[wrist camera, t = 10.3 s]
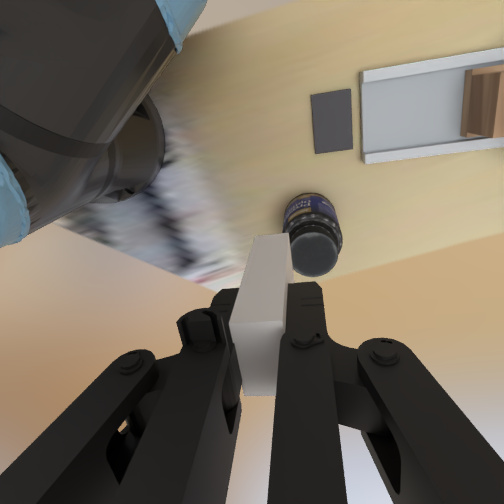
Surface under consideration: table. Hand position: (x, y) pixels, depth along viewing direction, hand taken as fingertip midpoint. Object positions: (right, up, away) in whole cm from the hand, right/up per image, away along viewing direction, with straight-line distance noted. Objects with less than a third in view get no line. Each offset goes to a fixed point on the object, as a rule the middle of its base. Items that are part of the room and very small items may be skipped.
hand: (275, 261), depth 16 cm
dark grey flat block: (+8, +14, +22) cm, 27 cm away
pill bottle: (+6, +5, +27) cm, 28 cm away
